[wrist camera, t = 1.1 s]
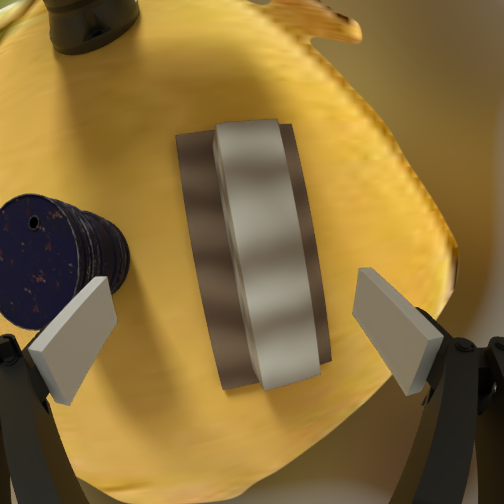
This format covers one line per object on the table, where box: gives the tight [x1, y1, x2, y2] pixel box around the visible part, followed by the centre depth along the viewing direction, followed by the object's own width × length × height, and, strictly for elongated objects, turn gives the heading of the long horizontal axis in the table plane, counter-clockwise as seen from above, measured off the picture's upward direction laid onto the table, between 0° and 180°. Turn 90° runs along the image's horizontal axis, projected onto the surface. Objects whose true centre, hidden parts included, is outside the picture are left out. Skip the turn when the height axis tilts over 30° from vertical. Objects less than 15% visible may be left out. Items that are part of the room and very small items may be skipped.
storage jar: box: [0, 194, 130, 331], centre depth 22 cm, size 10×10×15 cm
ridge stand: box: [176, 119, 332, 391], centre depth 30 cm, size 30×14×8 cm, turn 10°
